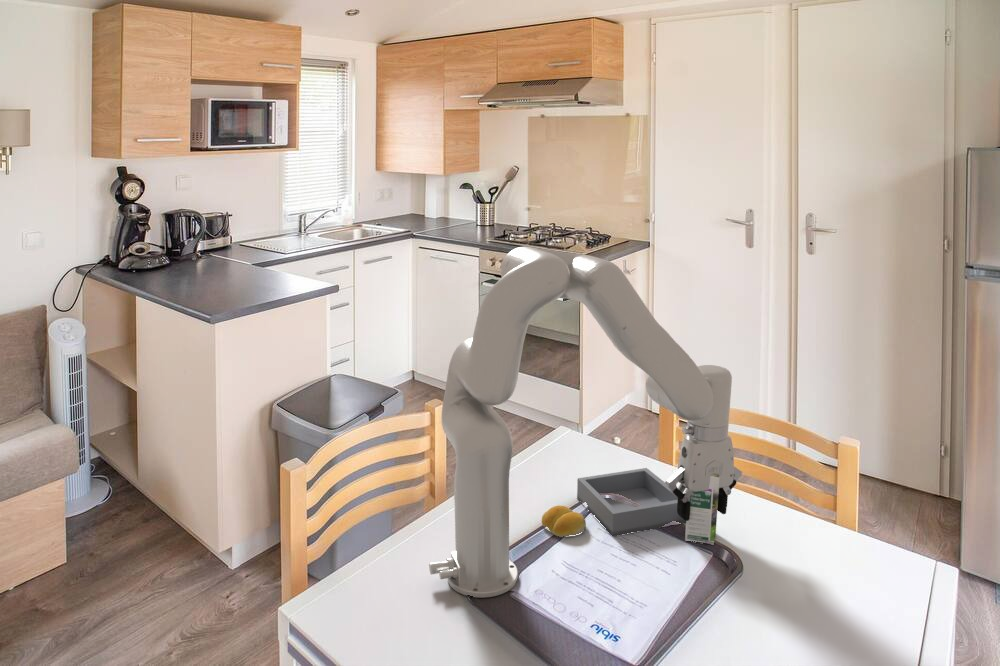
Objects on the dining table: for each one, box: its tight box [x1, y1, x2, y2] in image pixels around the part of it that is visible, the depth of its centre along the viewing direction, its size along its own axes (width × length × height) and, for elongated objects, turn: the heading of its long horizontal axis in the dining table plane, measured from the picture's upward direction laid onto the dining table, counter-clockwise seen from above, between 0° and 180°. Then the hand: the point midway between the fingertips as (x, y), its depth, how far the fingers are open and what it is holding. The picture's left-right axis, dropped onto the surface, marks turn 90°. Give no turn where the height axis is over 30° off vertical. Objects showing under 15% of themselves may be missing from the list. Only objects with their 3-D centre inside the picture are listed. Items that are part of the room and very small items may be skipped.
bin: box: [576, 467, 686, 537], centre depth 151 cm, size 17×17×5 cm
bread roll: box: [541, 505, 586, 538], centre depth 144 cm, size 8×9×4 cm
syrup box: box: [684, 474, 719, 543], centre depth 139 cm, size 6×6×14 cm
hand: (701, 513), depth 140 cm, fingers closed on syrup box, 7 cm apart
